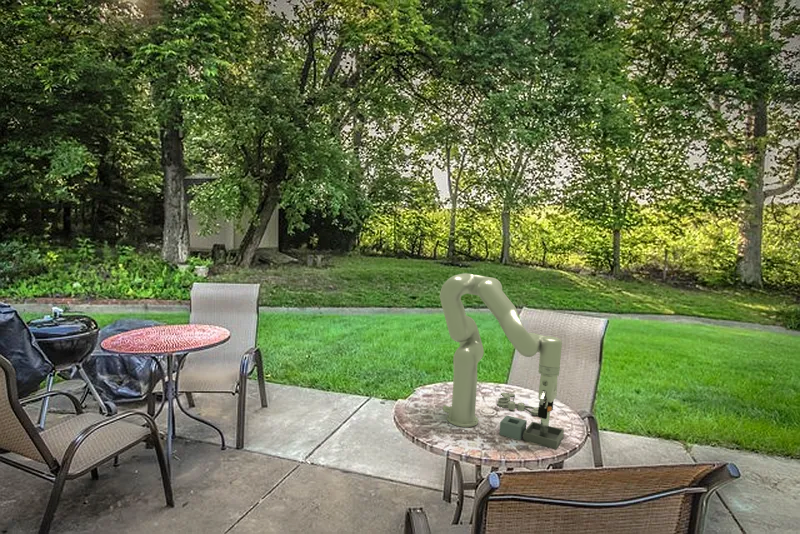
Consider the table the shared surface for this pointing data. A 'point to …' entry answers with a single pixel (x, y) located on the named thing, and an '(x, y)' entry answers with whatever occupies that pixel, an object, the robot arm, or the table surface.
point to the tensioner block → (512, 427)
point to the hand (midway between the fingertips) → (545, 413)
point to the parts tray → (552, 441)
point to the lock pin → (545, 424)
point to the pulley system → (506, 403)
